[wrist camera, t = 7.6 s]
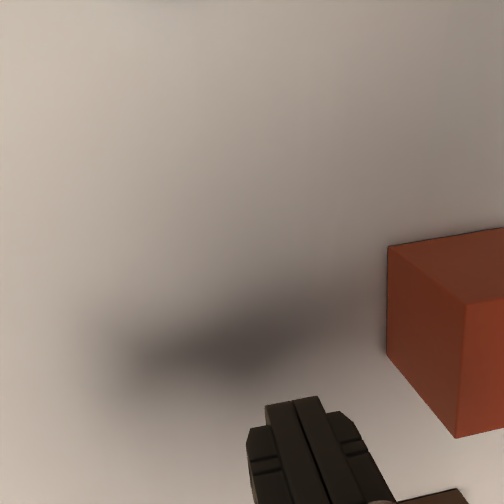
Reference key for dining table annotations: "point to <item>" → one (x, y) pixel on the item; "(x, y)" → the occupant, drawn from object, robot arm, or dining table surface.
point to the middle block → (451, 326)
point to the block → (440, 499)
